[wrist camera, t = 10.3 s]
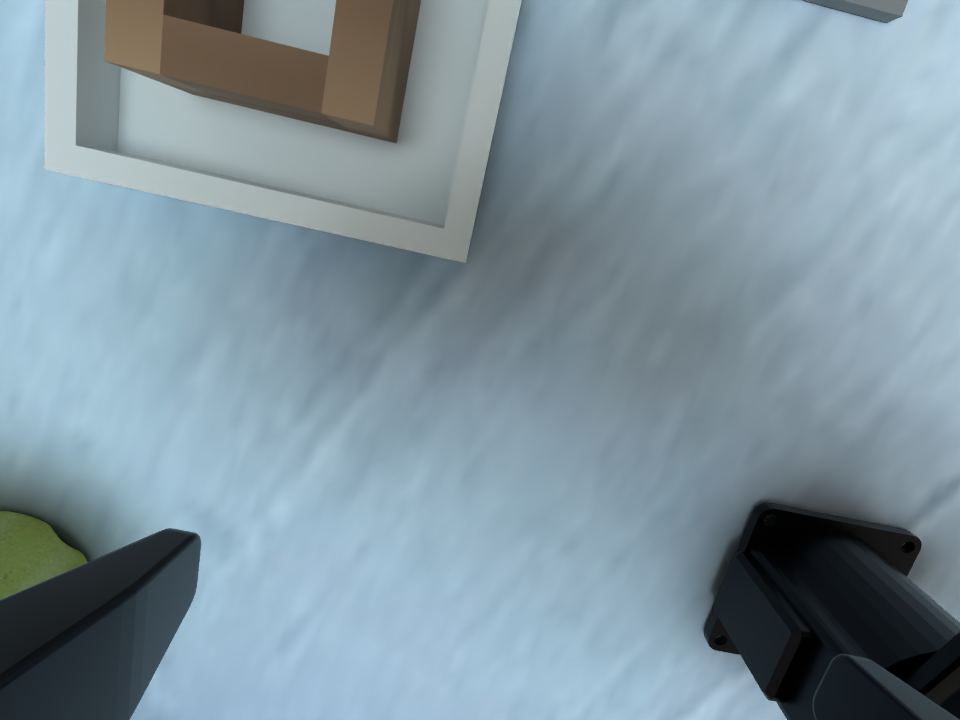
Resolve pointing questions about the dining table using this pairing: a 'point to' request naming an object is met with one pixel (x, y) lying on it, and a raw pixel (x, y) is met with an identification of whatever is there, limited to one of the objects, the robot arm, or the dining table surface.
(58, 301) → the dining table surface
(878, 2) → the post base
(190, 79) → the open wooden frame
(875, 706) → the robot arm
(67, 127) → the tray
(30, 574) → the plant pot
